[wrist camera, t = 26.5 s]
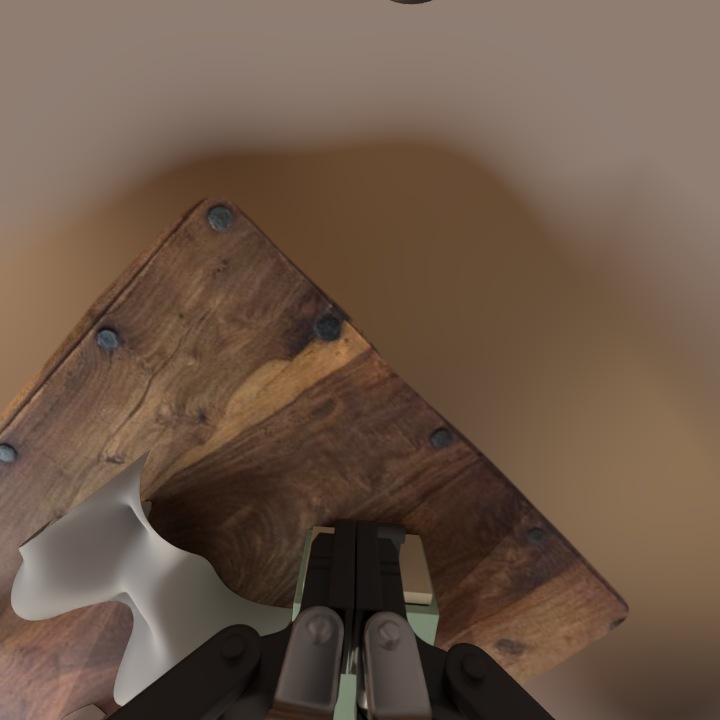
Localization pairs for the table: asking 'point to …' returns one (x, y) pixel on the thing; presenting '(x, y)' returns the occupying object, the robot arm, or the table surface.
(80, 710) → the wavy white extrusion
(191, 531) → the table surface
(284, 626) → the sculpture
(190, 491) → the table surface
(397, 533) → the drawer
